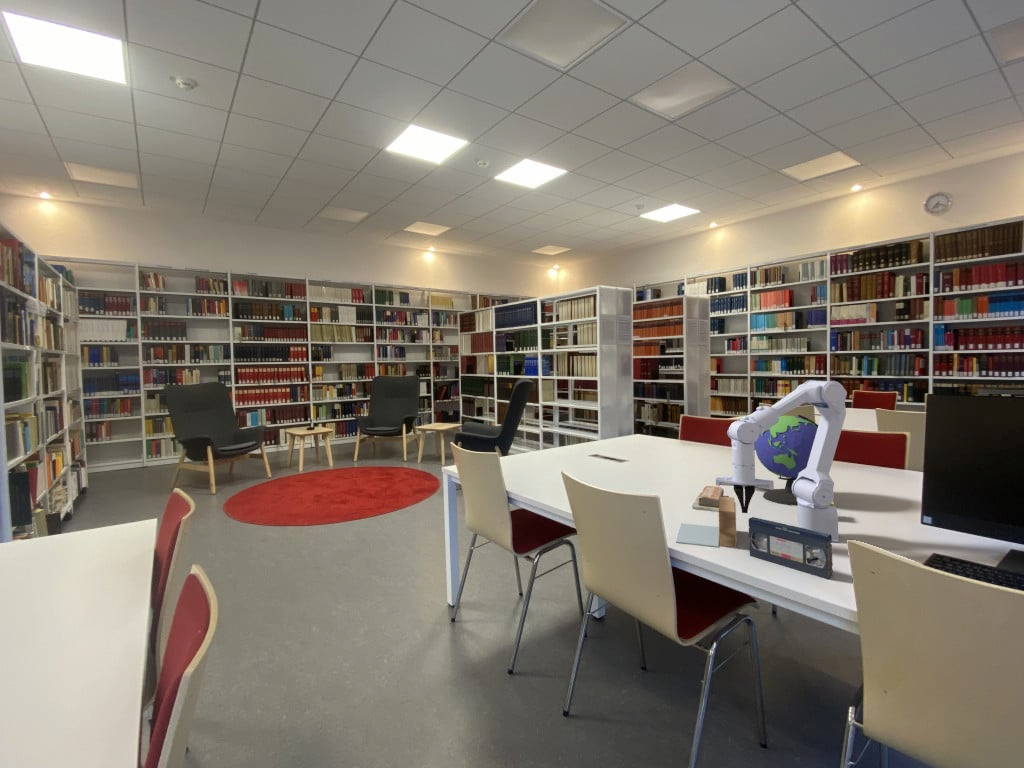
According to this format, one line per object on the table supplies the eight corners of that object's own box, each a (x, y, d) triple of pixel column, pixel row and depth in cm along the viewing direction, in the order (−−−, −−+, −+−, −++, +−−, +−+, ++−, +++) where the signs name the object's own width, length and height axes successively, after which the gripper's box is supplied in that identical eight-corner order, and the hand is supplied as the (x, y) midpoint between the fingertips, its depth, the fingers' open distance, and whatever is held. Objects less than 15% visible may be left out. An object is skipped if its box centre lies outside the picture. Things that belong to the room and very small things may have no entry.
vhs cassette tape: (748, 556, 123) (747, 518, 122) (754, 553, 124) (753, 515, 124) (827, 580, 108) (827, 537, 107) (833, 577, 109) (832, 534, 109)
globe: (775, 486, 185) (774, 410, 183) (839, 498, 166) (837, 414, 165) (742, 497, 173) (740, 416, 171) (807, 512, 154) (805, 420, 153)
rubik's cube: (834, 521, 145) (834, 503, 144) (813, 519, 147) (813, 502, 147) (831, 516, 149) (831, 498, 149) (811, 514, 152) (810, 497, 152)
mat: (719, 527, 143) (719, 526, 143) (718, 547, 129) (718, 546, 129) (681, 524, 148) (681, 523, 148) (675, 542, 133) (675, 541, 133)
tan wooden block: (736, 531, 140) (735, 497, 140) (736, 548, 128) (735, 511, 127) (720, 529, 142) (719, 496, 142) (719, 546, 130) (718, 510, 129)
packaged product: (699, 483, 178) (728, 486, 173) (699, 496, 178) (728, 499, 173) (691, 496, 162) (723, 499, 157) (691, 510, 162) (723, 513, 157)
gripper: (771, 462, 133) (772, 510, 133) (715, 460, 139) (716, 505, 139) (773, 467, 126) (774, 517, 127) (715, 465, 133) (716, 512, 133)
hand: (744, 512), depth 133 cm, fingers closed
